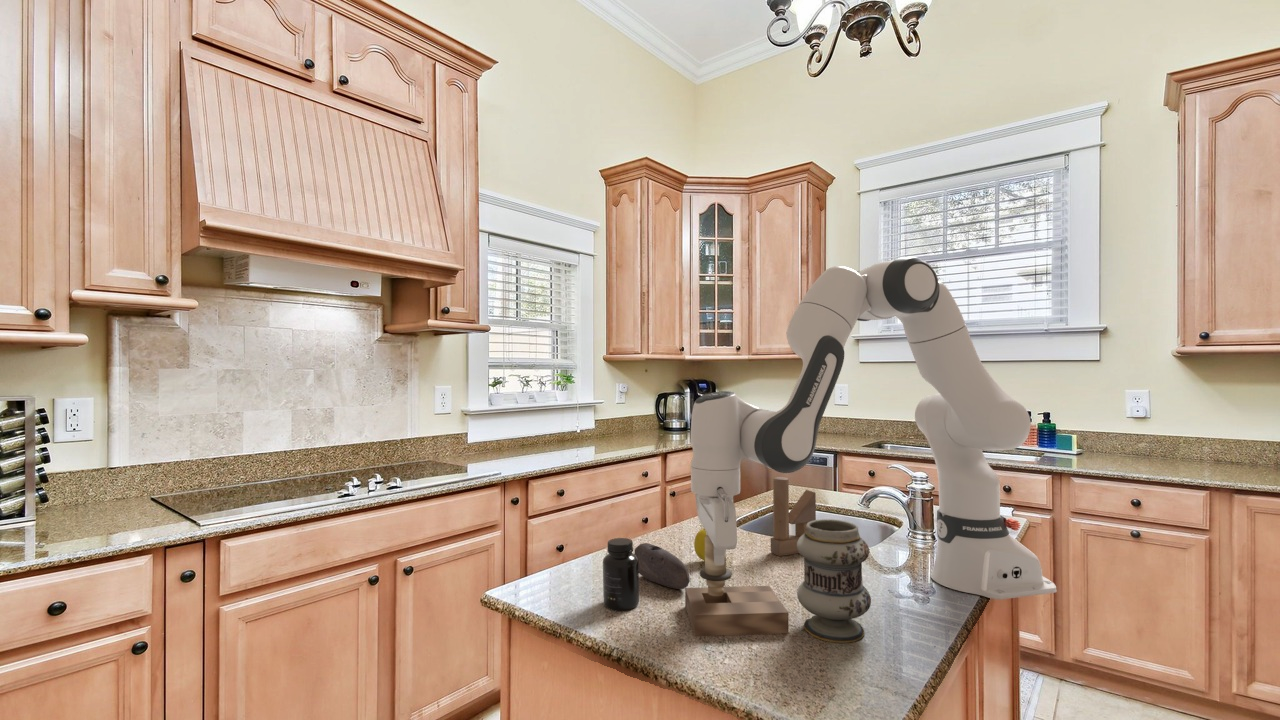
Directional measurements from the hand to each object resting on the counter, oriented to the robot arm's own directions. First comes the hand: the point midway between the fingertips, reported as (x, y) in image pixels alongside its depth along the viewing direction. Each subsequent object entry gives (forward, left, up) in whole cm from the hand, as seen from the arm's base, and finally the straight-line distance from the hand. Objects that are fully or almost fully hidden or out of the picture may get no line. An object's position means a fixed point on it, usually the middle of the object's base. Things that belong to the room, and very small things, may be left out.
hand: (715, 559), depth 108 cm
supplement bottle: (+17, -7, -11) cm, 21 cm away
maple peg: (0, 0, -6) cm, 6 cm away
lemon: (-3, -29, -11) cm, 31 cm away
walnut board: (-3, +1, -10) cm, 11 cm away
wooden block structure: (-25, -35, -11) cm, 44 cm away
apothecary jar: (-19, +6, -11) cm, 23 cm away
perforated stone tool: (+8, -17, -11) cm, 22 cm away
